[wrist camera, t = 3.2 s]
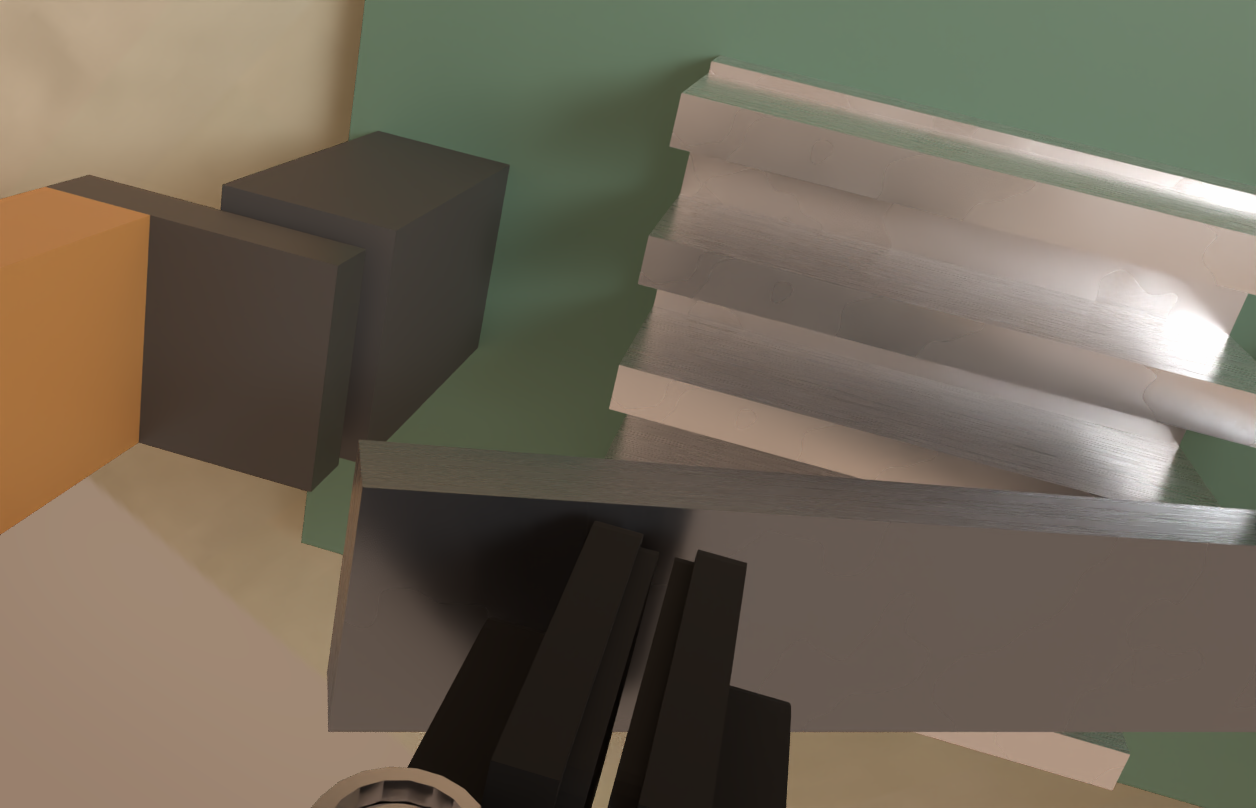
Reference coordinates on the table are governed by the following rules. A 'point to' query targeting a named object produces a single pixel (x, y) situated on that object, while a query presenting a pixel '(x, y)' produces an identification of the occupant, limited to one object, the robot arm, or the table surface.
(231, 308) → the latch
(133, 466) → the table surface
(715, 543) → the strap
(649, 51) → the board
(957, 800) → the table surface
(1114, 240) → the heat sink
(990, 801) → the table surface
